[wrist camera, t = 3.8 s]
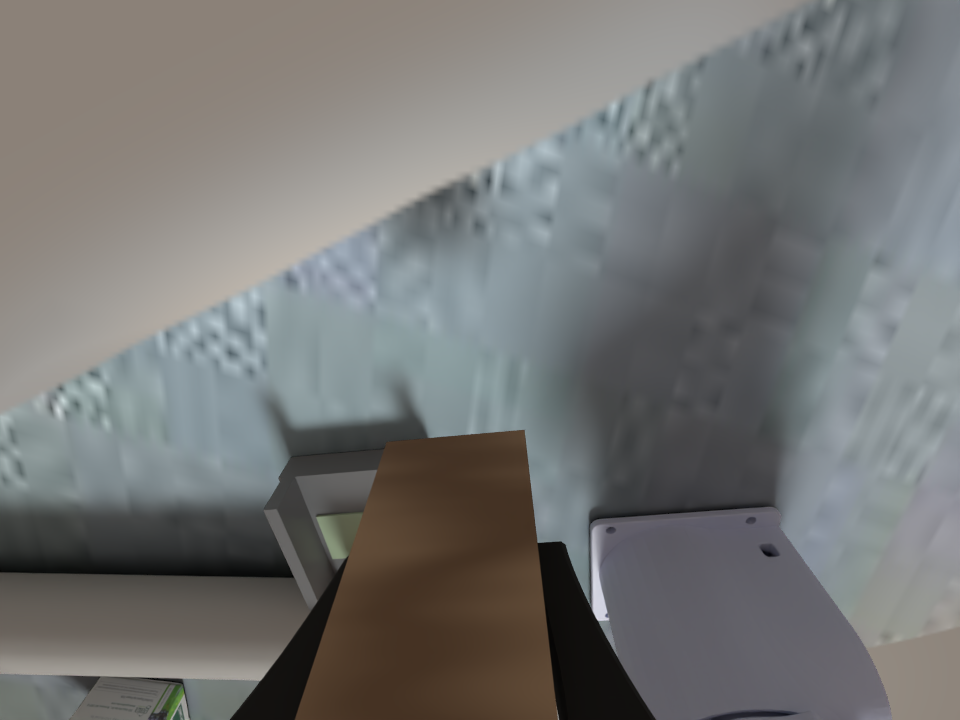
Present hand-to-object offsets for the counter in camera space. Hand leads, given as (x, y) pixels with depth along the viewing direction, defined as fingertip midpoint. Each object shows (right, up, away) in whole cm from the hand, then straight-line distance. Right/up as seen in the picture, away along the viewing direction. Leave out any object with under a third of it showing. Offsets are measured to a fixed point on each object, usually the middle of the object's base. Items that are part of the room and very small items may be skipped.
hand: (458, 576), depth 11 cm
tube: (-19, -8, +16) cm, 26 cm away
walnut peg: (0, +1, +3) cm, 3 cm away
